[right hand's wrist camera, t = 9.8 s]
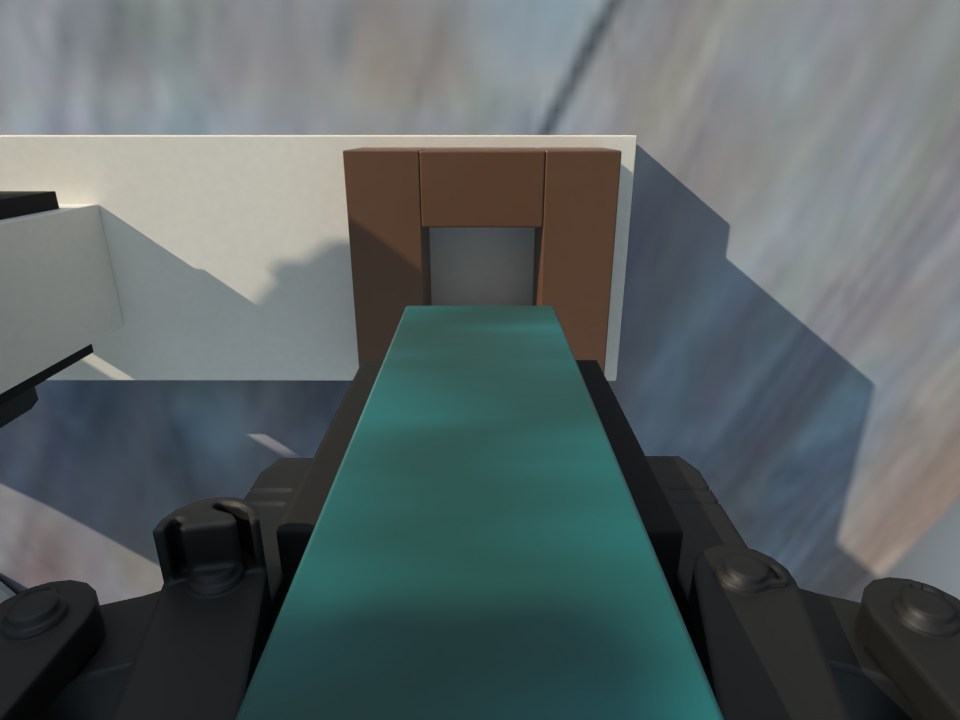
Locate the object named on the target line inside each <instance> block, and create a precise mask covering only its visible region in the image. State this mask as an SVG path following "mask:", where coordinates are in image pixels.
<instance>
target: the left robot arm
mask: <svg viewBox="0 0 960 720" xmlns="http://www.w3.org/2000/svg"><path fill="white" fill-rule="evenodd" d="M55 209H59V205H58V201H57V196H56V192H55V191H0V220H3V219H8V218H13V217H18V216H24V215H29V214H34V213H39V212H44V211H49V210H55ZM93 352H94V351H93V347H92V344H90V345H88V346H86V347H84V348H83V349H81V350H79V351H77V352H75V353H74V354H72V355H70V356H68V357H66V358H65V359H63V360H61V361H59V362H57V363H56V364H54V365H52V366H50V367H48V368H47V369H45V370H43V371H41V372H39V373H38V374H36V375H34V376H32V377H30V378H29V379H27V380H25V381H23V382H21V383H20V384H18V385H16V386H14V387H12V388H11V389H9V390H7V391H5V392H3V393H1V394H0V428H1V427H3V426H4V425H6V424H7V423H9V422H11V421H12V420H14V418H17V417H19V416H20V415H21V414H23V413H25V412H27V411H28V410H30V409H31V408H32V407H33V406H34V404H35V403H36V402H37V400H38V397H37V393H36V390H35V386H36V385H38V384H39V383H41V382H43V381H45V380H46V379H48V378H50V377H52V376H53V375H55V374H57V373H58V372H60V371H62V370H64V369H65V368H67V367H69V366H71V365H72V364H74V363H76V362H77V361H79V360H81V359H83V358H84V357H86V356H88V355H90V354H91V353H93Z"/></svg>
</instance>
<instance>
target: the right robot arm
mask: <svg viewBox="0 0 960 720" xmlns="http://www.w3.org/2000/svg"><path fill="white" fill-rule="evenodd" d="M383 361H384V360H363V361H362V363H361V365H360V367H359V369H358V371H357V373H356V375H355V377H354V379H353V381H352V383H351V385H350V387H349V389H348V391H347V392H346V394H345V396H344V398H343V400H342V402H341V404H340V406H339V408H338V410H337V412H336V414H335V416H334V418H333V420H332V422H331V424H330V426H329V428H328V430H327V432H326V434H325V436H324V438H323V440H322V442H321V444H320V446H319V448H318V450H317V452H316V454H315V456H314V458H281V459H280V460H278V461H277V462H275V463H274V464H273V465H271V466H270V467H268V468H267V469H266V470H264V471H263V472H261V474H260V475H259V477H258V479H257V480H256V482H255V483H254V485H253V486H252V488H251V492H249V493H248V494H247V496H246V497H245V499H244V500H241V499H238V498H213V499H208V500H203V501H198V502H195V503H192V504H190V505H187V506H185V507H182V508H180V509H177V510H176V511H174V512H173V513H171V514H170V515H168V516H167V517H165V518H164V519H162V521H161V522H160V523H159V524H158V525H157V527H156V528H155V529H154V530H153V536H154V540H155V544H156V549H157V553H158V558H159V562H160V567H161V571H162V575H163V580H164V585H163V587H162V590H161V591H159V592H155V593H152V594H148V595H145V596H141V597H137V598H132V599H127V600H123V601H118V602H114V603H109V604H105V605H99V601H98V598H97V594H96V591H95V590H94V589H93V588H92V587H91V586H89V585H88V584H87V583H84V582H78V581H73V580H67V581H57V582H49V583H46V584H42V585H39V586H35V587H32V588H29V589H27V590H25V591H22V592H20V593H18V594H16V595H14V596H12V597H10V598H8V599H6V600H4V601H3V602H2V603H0V720H235V719H236V716H237V714H238V711H239V709H240V706H241V704H242V702H243V699H244V697H245V694H246V692H247V690H248V687H249V685H250V682H251V680H252V677H253V675H254V673H255V670H256V668H257V665H258V663H259V661H260V658H261V656H262V653H263V651H264V648H265V646H266V644H267V641H268V639H269V636H270V634H271V632H272V629H273V627H274V624H275V622H276V620H277V617H278V615H279V612H280V610H281V607H282V605H283V603H284V600H285V598H286V595H287V593H288V591H289V588H290V586H291V583H292V581H293V578H294V576H295V574H296V571H297V569H298V566H299V564H300V562H301V559H302V557H303V554H304V552H305V550H306V547H307V545H308V542H309V540H310V537H311V535H312V533H313V530H314V528H315V525H316V523H317V521H318V518H319V516H320V513H321V511H322V508H323V506H324V504H325V501H326V499H327V496H328V494H329V492H330V489H331V487H332V484H333V482H334V480H335V477H336V475H337V472H338V470H339V467H340V465H341V463H342V460H343V458H344V455H345V453H346V451H347V448H348V446H349V443H350V441H351V438H352V436H353V434H354V431H355V429H356V426H357V424H358V422H359V419H360V417H361V414H362V412H363V410H364V407H365V405H366V402H367V400H368V397H369V395H370V393H371V390H372V388H373V385H374V383H375V381H376V378H377V376H378V373H379V371H380V368H381V366H382V364H383ZM576 362H577V365H578V367H579V370H580V372H581V374H582V377H583V379H584V382H585V384H586V386H587V389H588V391H589V394H590V396H591V399H592V401H593V403H594V406H595V408H596V411H597V413H598V415H599V418H600V420H601V423H602V425H603V428H604V430H605V432H606V435H607V437H608V440H609V442H610V444H611V447H612V449H613V452H614V454H615V457H616V459H617V461H618V464H619V466H620V469H621V471H622V473H623V476H624V478H625V481H626V483H627V486H628V488H629V490H630V493H631V495H632V498H633V500H634V502H635V505H636V507H637V510H638V512H639V515H640V517H641V519H642V522H643V524H644V527H645V529H646V531H647V534H648V536H649V539H650V541H651V544H652V546H653V548H654V551H655V553H656V556H657V558H658V561H659V563H660V565H661V568H662V570H663V573H664V575H665V577H666V580H667V582H668V585H669V587H670V590H671V592H672V594H673V597H674V599H675V602H676V604H677V606H678V609H679V611H680V614H681V616H682V619H683V621H684V623H685V626H686V628H687V631H688V633H689V635H690V638H691V640H692V643H693V645H694V648H695V650H696V652H697V655H698V657H699V660H700V662H701V664H702V667H703V669H704V672H705V674H706V677H707V679H708V681H709V684H710V686H711V689H712V691H713V693H714V696H715V698H716V701H717V703H718V706H719V708H720V710H721V713H722V715H723V718H724V720H960V600H958V599H957V598H956V597H954V596H952V595H950V594H947V593H945V592H943V591H941V590H939V589H937V588H935V587H933V586H930V585H927V584H925V583H920V582H917V581H913V580H910V579H900V578H890V577H889V578H884V579H878V580H873V581H872V582H871V583H870V584H869V585H868V586H867V587H865V588H864V592H863V596H862V599H861V603H858V602H853V601H849V600H844V599H840V598H835V597H830V596H826V595H821V594H817V593H813V592H810V591H806V590H803V589H800V588H798V586H797V584H796V582H795V580H794V579H793V577H792V576H791V574H790V573H789V571H788V570H787V569H786V568H785V567H783V566H782V565H781V564H779V563H778V562H777V561H776V560H774V559H773V558H771V557H769V556H767V555H765V554H762V553H760V552H758V551H756V550H753V549H749V548H748V547H747V546H746V544H745V543H744V541H743V539H742V538H741V536H740V535H739V533H738V532H737V530H736V528H735V527H734V525H733V524H732V522H731V521H730V519H729V517H728V516H727V514H726V513H725V511H724V510H723V508H722V507H721V505H720V504H718V500H717V499H716V497H715V496H714V494H713V492H712V491H711V490H709V486H708V485H707V483H706V481H705V480H704V478H703V477H702V475H701V474H700V472H699V471H698V470H697V469H696V468H694V467H693V466H691V465H690V464H689V463H687V462H686V461H684V460H683V459H682V458H680V457H679V456H645V455H644V453H643V451H642V449H641V447H640V445H639V443H638V441H637V439H636V437H635V435H634V433H633V431H632V429H631V427H630V425H629V423H628V421H627V419H626V417H625V415H624V413H623V411H622V409H621V407H620V405H619V403H618V401H617V399H616V397H615V395H614V393H613V391H612V389H611V387H610V385H609V383H608V381H607V379H606V377H605V375H604V373H603V371H602V369H601V368H600V366H599V364H598V362H597V360H576Z"/></svg>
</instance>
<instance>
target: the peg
mask: <svg viewBox="0 0 960 720" xmlns="http://www.w3.org/2000/svg"><path fill="white" fill-rule="evenodd" d="M235 720H724V718H723V715H722V713H721V710H720V708H719V706H718V703H717V701H716V698H715V696H714V693H713V691H712V689H711V686H710V684H709V681H708V679H707V677H706V674H705V672H704V669H703V667H702V664H701V662H700V660H699V657H698V655H697V652H696V650H695V648H694V645H693V643H692V640H691V638H690V635H689V633H688V631H687V628H686V626H685V623H684V621H683V619H682V616H681V614H680V611H679V609H678V606H677V604H676V602H675V599H674V597H673V594H672V592H671V590H670V587H669V585H668V582H667V580H666V577H665V575H664V573H663V570H662V568H661V565H660V563H659V561H658V558H657V556H656V553H655V551H654V548H653V546H652V544H651V541H650V539H649V536H648V534H647V531H646V529H645V527H644V524H643V522H642V519H641V517H640V515H639V512H638V510H637V507H636V505H635V502H634V500H633V498H632V495H631V493H630V490H629V488H628V486H627V483H626V481H625V478H624V476H623V473H622V471H621V469H620V466H619V464H618V461H617V459H616V457H615V454H614V452H613V449H612V447H611V444H610V442H609V440H608V437H607V435H606V432H605V430H604V428H603V425H602V423H601V420H600V418H599V415H598V413H597V411H596V408H595V406H594V403H593V401H592V399H591V396H590V394H589V391H588V389H587V386H586V384H585V382H584V379H583V377H582V374H581V372H580V370H579V367H578V365H577V362H576V360H575V357H574V355H573V353H572V350H571V348H570V345H569V343H568V341H567V338H566V336H565V333H564V331H563V328H562V326H561V324H560V321H559V319H558V316H557V314H556V312H555V309H554V307H553V306H407V307H406V308H405V311H404V313H403V315H402V318H401V320H400V323H399V325H398V327H397V330H396V332H395V335H394V337H393V340H392V342H391V344H390V347H389V349H388V352H387V354H386V356H385V359H384V361H383V364H382V366H381V368H380V371H379V373H378V376H377V378H376V381H375V383H374V385H373V388H372V390H371V393H370V395H369V397H368V400H367V402H366V405H365V407H364V410H363V412H362V414H361V417H360V419H359V422H358V424H357V426H356V429H355V431H354V434H353V436H352V438H351V441H350V443H349V446H348V448H347V451H346V453H345V455H344V458H343V460H342V463H341V465H340V467H339V470H338V472H337V475H336V477H335V480H334V482H333V484H332V487H331V489H330V492H329V494H328V496H327V499H326V501H325V504H324V506H323V508H322V511H321V513H320V516H319V518H318V521H317V523H316V525H315V528H314V530H313V533H312V535H311V537H310V540H309V542H308V545H307V547H306V550H305V552H304V554H303V557H302V559H301V562H300V564H299V566H298V569H297V571H296V574H295V576H294V578H293V581H292V583H291V586H290V588H289V591H288V593H287V595H286V598H285V600H284V603H283V605H282V607H281V610H280V612H279V615H278V617H277V620H276V622H275V624H274V627H273V629H272V632H271V634H270V636H269V639H268V641H267V644H266V646H265V648H264V651H263V653H262V656H261V658H260V661H259V663H258V665H257V668H256V670H255V673H254V675H253V677H252V680H251V682H250V685H249V687H248V690H247V692H246V694H245V697H244V699H243V702H242V704H241V706H240V709H239V711H238V714H237V716H236V719H235Z"/></svg>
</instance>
